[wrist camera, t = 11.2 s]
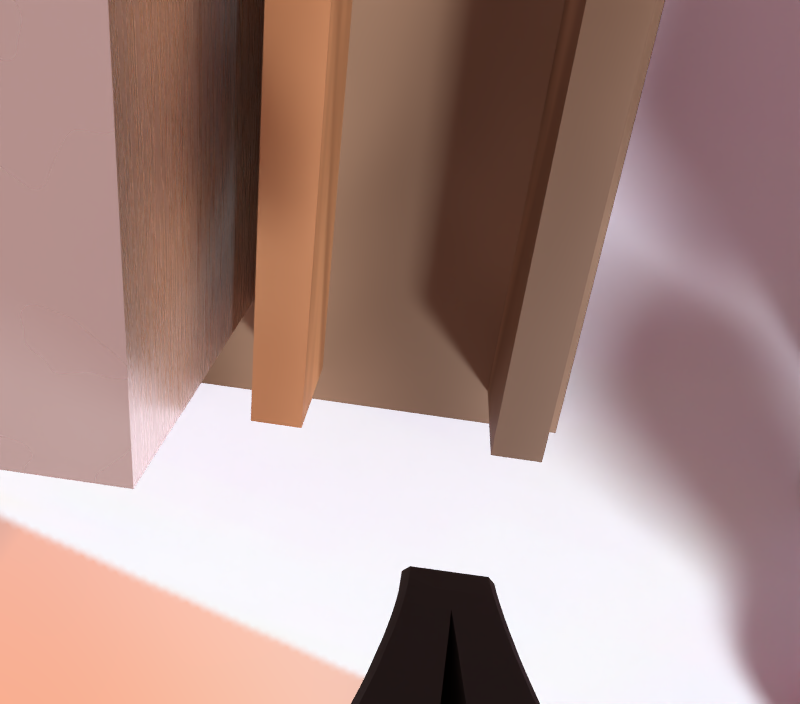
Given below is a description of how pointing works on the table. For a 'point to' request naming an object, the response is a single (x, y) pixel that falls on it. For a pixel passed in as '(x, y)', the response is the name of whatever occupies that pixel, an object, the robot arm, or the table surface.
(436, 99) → the rack
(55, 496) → the table surface
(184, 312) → the wooden block
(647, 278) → the table surface
